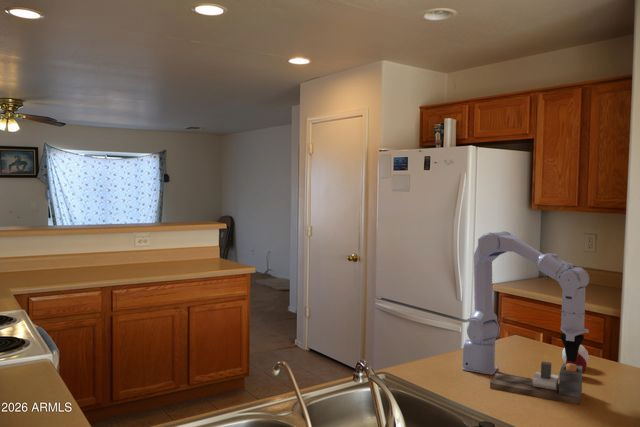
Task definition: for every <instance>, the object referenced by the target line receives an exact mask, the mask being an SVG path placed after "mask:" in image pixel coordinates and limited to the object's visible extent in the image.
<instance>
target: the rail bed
mask: <svg viewBox="0 0 640 427" xmlns="http://www.w3.org/2000/svg"><path fill="white" fill-rule="evenodd" d="M558 376H559V380H558V384H557V390H552V389H547V388H541V387H536V386H533V378H530V377H524V376H518V375H512V374H506V373H501V372H496V373H494V376H493V378H492V380H491V381H490V382H489V388H490V389H494V390H498V391H499V390H500V391H505V392H510V393H515V394H522V395H526V396H531V397H537V398H542V399H548V400H552V401H559V402H565V403H570V404H574V405H580V401H581V397H582V394H583V393H582V391H583V387H582V386H583V373H582V366H577V369H576V372H574V371H568V370H566V363H565V362H564V363H562V364H561V366H560V370H559V375H558Z"/></svg>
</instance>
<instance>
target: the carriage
mask: <svg viewBox="0 0 640 427" xmlns="http://www.w3.org/2000/svg"><path fill="white" fill-rule="evenodd" d="M532 379H533V386H536V387H541V388H547V389H552V390H557V384H558V383H559V375H557V374H552V362H548V361H541V363H540V372H539V371H535V373H534V376H533V377H532Z"/></svg>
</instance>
